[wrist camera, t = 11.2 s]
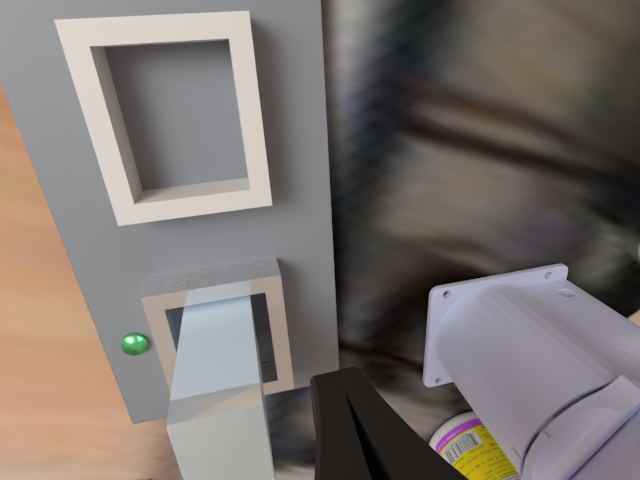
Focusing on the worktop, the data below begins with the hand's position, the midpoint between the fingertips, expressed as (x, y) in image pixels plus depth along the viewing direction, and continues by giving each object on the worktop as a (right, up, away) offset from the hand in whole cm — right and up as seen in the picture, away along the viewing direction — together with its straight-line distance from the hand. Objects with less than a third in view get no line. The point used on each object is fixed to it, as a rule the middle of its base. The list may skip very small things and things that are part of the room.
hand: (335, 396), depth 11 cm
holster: (-6, +10, +6) cm, 13 cm away
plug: (-5, 0, +9) cm, 11 cm away
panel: (-6, +5, +8) cm, 11 cm away
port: (-6, 0, +9) cm, 11 cm away
